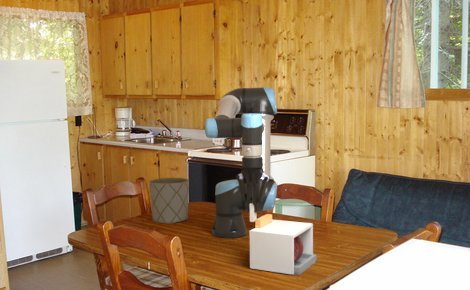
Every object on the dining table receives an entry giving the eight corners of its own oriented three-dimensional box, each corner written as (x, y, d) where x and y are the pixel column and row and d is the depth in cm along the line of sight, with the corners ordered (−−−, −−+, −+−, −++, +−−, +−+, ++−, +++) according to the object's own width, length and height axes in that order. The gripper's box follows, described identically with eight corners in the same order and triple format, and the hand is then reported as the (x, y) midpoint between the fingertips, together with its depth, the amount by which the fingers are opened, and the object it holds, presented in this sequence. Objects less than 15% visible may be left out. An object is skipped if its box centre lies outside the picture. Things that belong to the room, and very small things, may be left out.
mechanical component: (301, 270, 183) (301, 242, 181) (272, 269, 185) (271, 241, 183) (304, 256, 195) (304, 230, 193) (277, 255, 197) (276, 229, 195)
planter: (169, 215, 276) (168, 176, 275) (197, 219, 265) (196, 179, 263) (142, 222, 261) (141, 181, 259) (171, 227, 250) (170, 184, 248)
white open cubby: (250, 268, 186) (249, 222, 185) (272, 253, 203) (272, 211, 202) (293, 274, 179) (292, 226, 177) (312, 259, 196) (312, 215, 194)
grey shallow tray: (258, 269, 186) (258, 262, 186) (278, 256, 201) (278, 249, 201) (299, 275, 179) (299, 267, 179) (316, 261, 194) (316, 254, 194)
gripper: (231, 156, 193) (232, 221, 195) (264, 158, 187) (265, 224, 189) (240, 154, 199) (241, 217, 202) (273, 155, 194) (273, 220, 196)
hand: (253, 220), depth 195 cm, fingers closed
